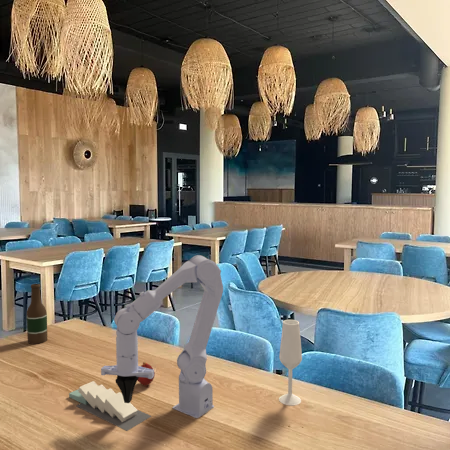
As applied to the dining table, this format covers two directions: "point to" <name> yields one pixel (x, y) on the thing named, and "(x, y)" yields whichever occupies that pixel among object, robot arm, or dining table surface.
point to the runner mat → (115, 420)
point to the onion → (145, 380)
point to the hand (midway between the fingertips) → (128, 401)
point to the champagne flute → (290, 356)
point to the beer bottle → (36, 318)
